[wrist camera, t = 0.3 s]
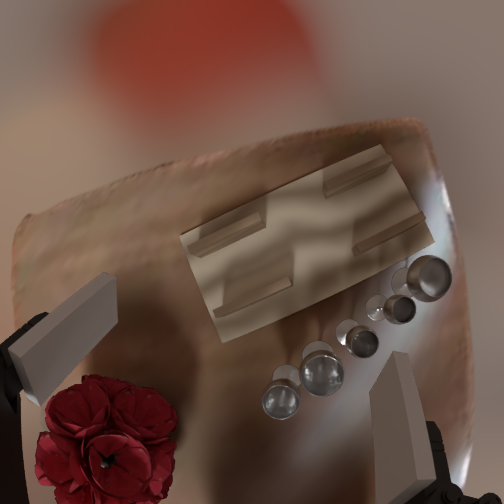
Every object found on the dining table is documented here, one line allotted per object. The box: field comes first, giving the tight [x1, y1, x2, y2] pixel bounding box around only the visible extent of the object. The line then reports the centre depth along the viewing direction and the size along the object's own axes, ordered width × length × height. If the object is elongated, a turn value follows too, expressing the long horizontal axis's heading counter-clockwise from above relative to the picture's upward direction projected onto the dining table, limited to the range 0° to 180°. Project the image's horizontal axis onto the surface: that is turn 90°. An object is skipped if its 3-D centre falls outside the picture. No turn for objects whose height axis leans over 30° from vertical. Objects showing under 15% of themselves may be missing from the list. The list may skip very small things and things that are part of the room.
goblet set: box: [262, 255, 452, 419], centre depth 38 cm, size 28×6×13 cm, turn 127°
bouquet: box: [35, 374, 178, 504], centre depth 37 cm, size 22×24×30 cm
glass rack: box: [179, 144, 434, 344], centre depth 44 cm, size 18×36×6 cm, turn 114°
